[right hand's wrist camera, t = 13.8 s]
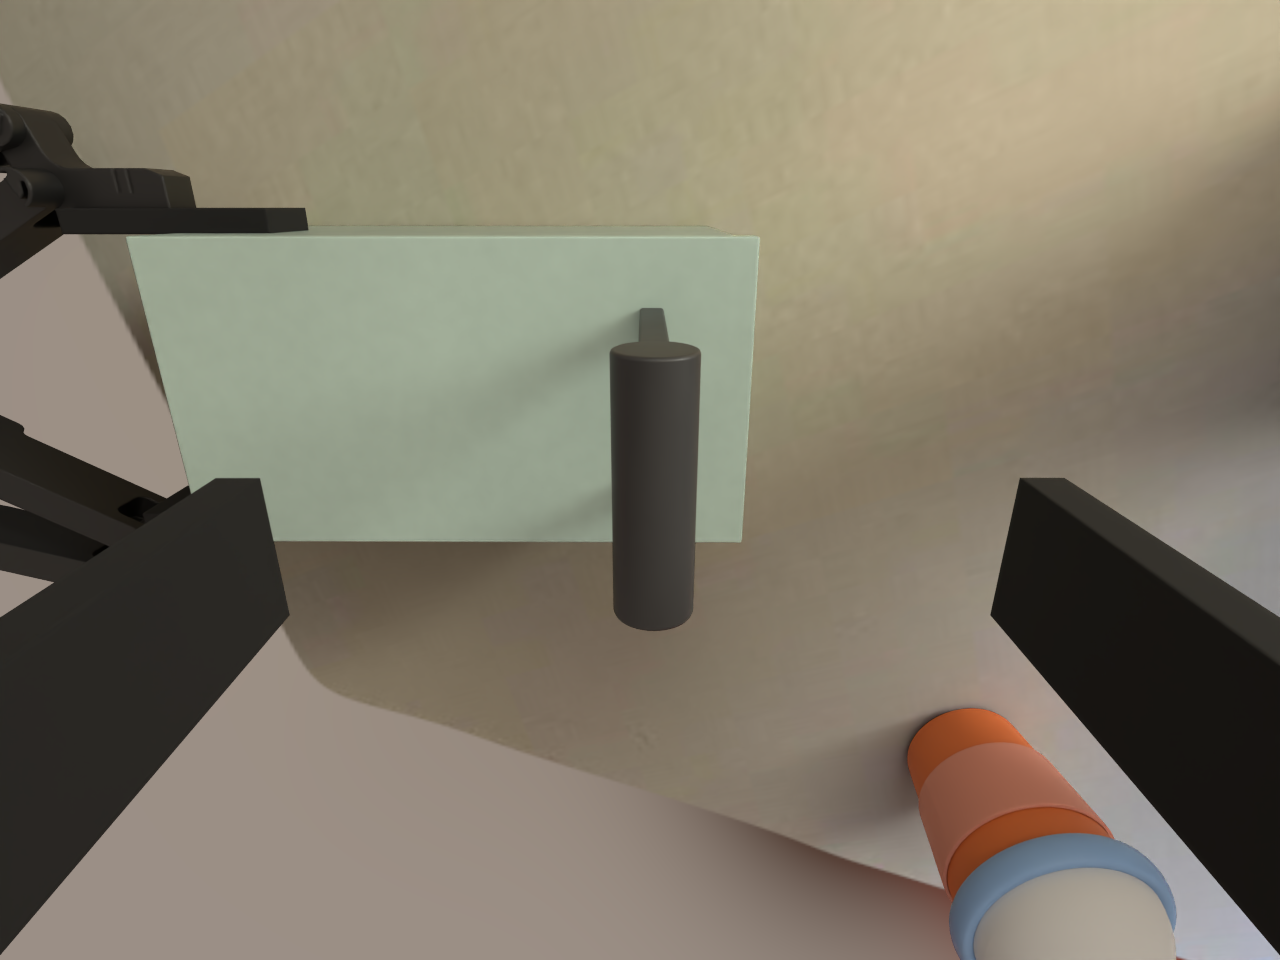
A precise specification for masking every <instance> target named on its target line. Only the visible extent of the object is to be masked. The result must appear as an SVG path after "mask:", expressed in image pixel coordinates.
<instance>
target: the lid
mask: <svg viewBox="0 0 1280 960" xmlns="http://www.w3.org/2000/svg"><path fill="white" fill-rule="evenodd" d="M126 242H127V245H128V249H129V253H130V257H131V261H132V265H133V269H134V273H135V277H136V281H137V285H138V288H139V292H140V296H141V300H142V304H143V308H144V312H145V316H146V320H147V324H148V327H149V331H150V335H151V339H152V343H153V347H154V351H155V355H156V359H157V363H158V367H159V370H160V374H161V378H162V382H163V386H164V390H165V394H166V398H167V402H168V406H169V409H170V413H171V417H172V421H173V425H174V429H175V433H176V437H177V441H178V445H179V449H180V452H181V456H182V460H183V464H184V468H185V472H186V476H187V480H188V484H189V488H190V492H191V494H192V493H193V492H195V491H196V490H198V489H200V488H201V487H203V486H204V485H206V484H207V483H209V482H210V481H212V480H213V479H215V478H260V480H261V485H262V489H263V494H264V499H265V503H266V508H267V513H268V517H269V522H270V527H271V531H272V536H273V540H274V541H330V542H612V544H613V606H614V612H615V614H616V616H617V617H618V619H619V620H620V621H622V622H623V623H624V624H626V625H628V626H630V627H633V628H636V629H641V630H647V631H660V630H667V629H671V628H675V627H677V626H679V625H681V624H683V623H684V622H686V621H687V620H688V619H689V617H690V616H691V614H692V612H693V594H694V564H695V542H720V543H740V542H741V541H742V529H743V512H744V495H745V478H746V462H747V445H748V428H749V411H750V395H751V378H752V361H753V344H754V328H755V311H756V294H757V277H758V261H759V244H760V238H759V237H758V236H754V235H140V236H127V237H126Z"/></svg>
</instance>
